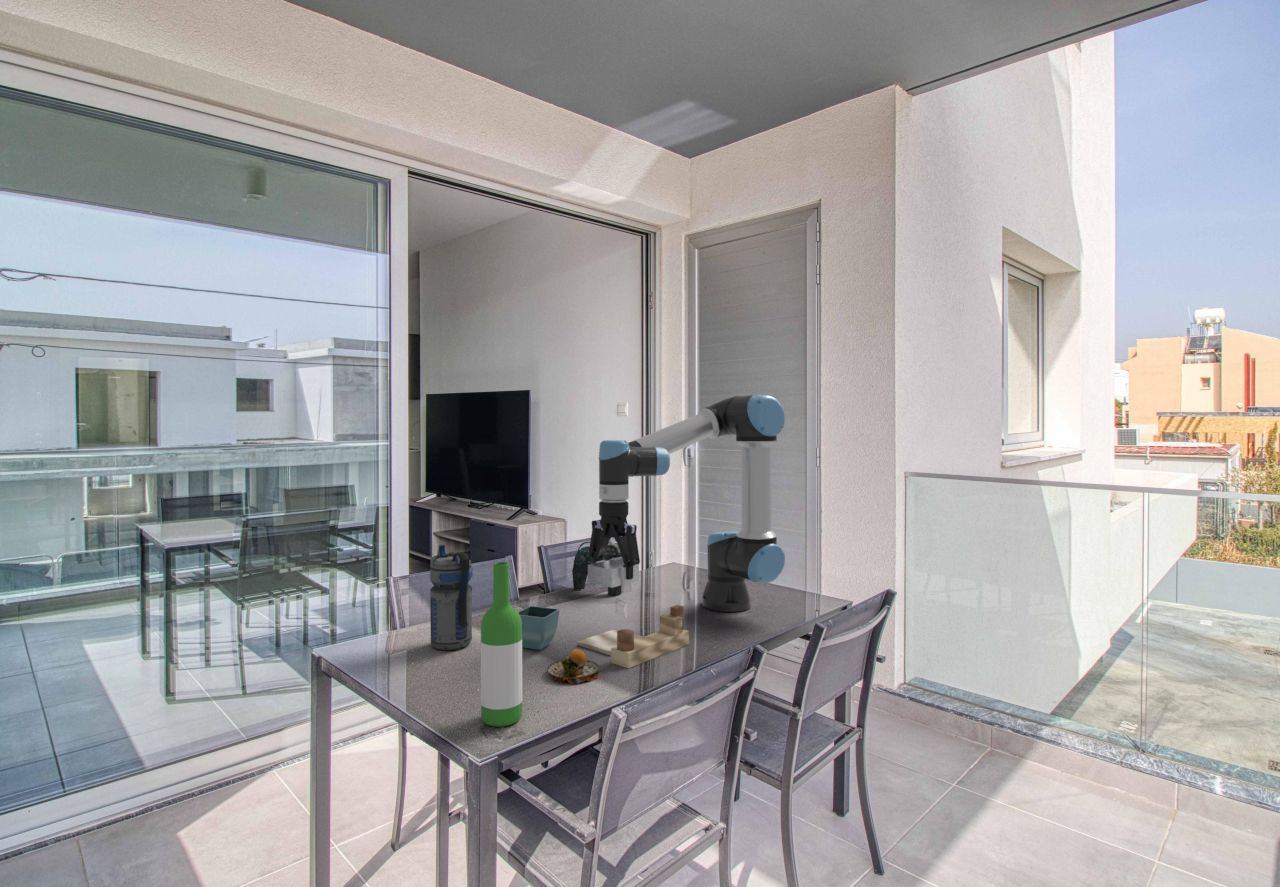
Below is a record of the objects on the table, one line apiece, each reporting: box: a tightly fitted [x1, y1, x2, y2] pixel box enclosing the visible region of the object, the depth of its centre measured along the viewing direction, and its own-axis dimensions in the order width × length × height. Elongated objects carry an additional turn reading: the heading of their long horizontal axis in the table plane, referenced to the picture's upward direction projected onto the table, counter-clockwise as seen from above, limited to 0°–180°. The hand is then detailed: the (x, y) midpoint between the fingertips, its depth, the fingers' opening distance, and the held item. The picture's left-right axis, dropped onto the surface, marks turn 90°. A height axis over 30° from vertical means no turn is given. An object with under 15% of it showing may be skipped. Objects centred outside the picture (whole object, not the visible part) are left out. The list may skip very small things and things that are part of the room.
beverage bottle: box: [429, 544, 474, 651], centre depth 172 cm, size 10×13×25 cm
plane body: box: [610, 604, 690, 669], centre depth 167 cm, size 23×6×10 cm, turn 138°
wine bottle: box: [480, 561, 523, 727], centre depth 129 cm, size 8×8×30 cm
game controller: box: [571, 540, 623, 597], centre depth 227 cm, size 20×6×20 cm, turn 58°
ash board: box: [577, 628, 644, 657], centre depth 174 cm, size 14×12×1 cm
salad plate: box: [547, 647, 601, 685], centre depth 153 cm, size 12×12×8 cm
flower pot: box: [517, 605, 560, 651], centre depth 172 cm, size 9×9×9 cm
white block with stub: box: [587, 557, 640, 588], centre depth 174 cm, size 10×8×6 cm
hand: (613, 588), depth 174 cm, fingers closed on white block with stub, 8 cm apart
